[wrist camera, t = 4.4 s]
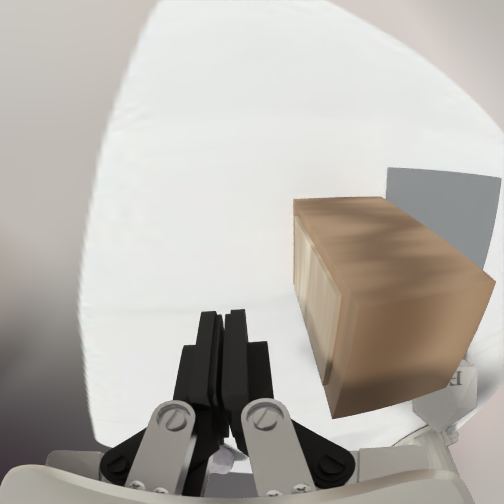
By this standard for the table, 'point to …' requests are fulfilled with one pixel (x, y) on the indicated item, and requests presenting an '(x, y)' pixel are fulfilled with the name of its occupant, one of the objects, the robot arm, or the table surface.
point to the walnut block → (382, 301)
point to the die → (449, 399)
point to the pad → (449, 206)
